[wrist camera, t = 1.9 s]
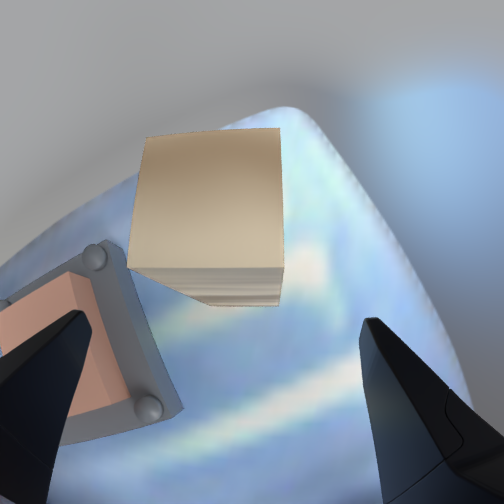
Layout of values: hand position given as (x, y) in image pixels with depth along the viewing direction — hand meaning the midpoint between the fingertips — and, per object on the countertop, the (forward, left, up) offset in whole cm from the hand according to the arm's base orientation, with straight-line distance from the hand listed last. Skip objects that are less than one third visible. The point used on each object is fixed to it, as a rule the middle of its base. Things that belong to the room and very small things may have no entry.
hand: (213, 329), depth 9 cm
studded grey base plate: (-7, +10, -11) cm, 16 cm away
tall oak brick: (+4, +1, -11) cm, 11 cm away
